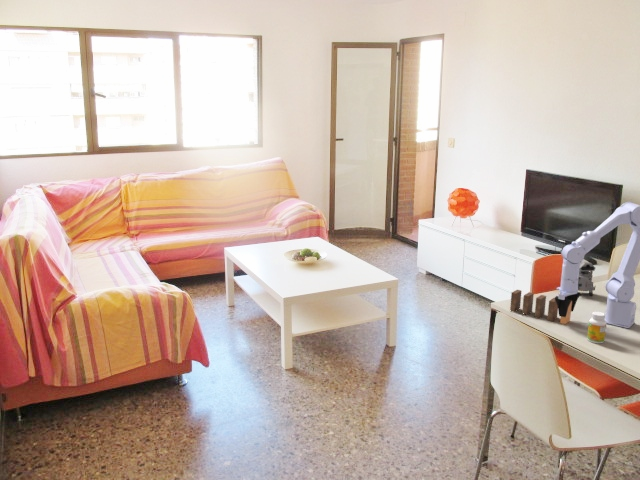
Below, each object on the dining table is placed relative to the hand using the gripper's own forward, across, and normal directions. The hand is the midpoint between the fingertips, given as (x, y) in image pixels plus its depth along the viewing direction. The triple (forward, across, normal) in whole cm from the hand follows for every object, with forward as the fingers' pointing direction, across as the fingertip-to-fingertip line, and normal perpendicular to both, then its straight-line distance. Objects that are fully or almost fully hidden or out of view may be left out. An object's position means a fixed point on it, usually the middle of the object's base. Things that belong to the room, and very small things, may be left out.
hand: (566, 313), depth 220 cm
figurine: (+3, -36, -6) cm, 37 cm away
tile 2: (+3, 0, -5) cm, 6 cm away
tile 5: (+3, 0, -19) cm, 19 cm away
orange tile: (+3, 0, 0) cm, 3 cm away
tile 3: (+3, 0, -10) cm, 10 cm away
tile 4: (+3, 0, -14) cm, 15 cm away
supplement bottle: (+3, +11, +14) cm, 18 cm away
